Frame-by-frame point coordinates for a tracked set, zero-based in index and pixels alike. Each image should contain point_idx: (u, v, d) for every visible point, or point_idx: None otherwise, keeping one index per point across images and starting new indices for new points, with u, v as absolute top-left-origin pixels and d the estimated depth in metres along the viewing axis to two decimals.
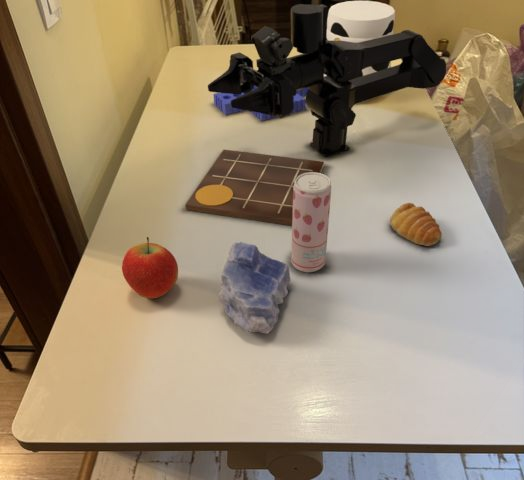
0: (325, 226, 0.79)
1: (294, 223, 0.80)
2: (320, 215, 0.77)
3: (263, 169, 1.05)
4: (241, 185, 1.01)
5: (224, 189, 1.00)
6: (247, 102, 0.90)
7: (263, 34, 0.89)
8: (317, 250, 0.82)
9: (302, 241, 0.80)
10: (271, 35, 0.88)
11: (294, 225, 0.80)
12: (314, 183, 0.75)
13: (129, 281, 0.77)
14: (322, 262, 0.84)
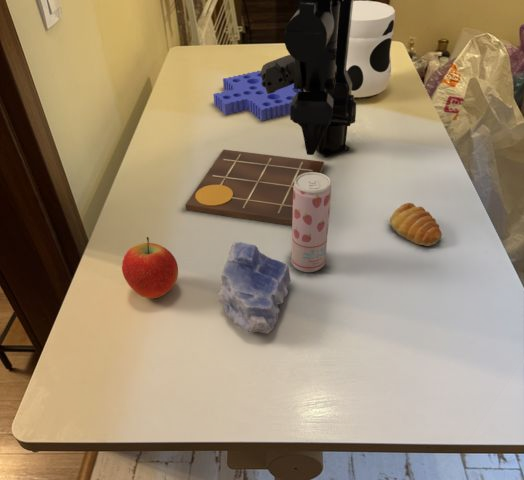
0: (325, 226, 0.79)
1: (294, 223, 0.80)
2: (320, 215, 0.77)
3: (263, 169, 1.05)
4: (241, 185, 1.01)
5: (224, 189, 1.00)
6: (311, 141, 0.82)
7: None
8: (317, 250, 0.82)
9: (302, 241, 0.80)
10: None
11: (294, 225, 0.80)
12: (314, 183, 0.75)
13: (129, 281, 0.77)
14: (322, 262, 0.84)
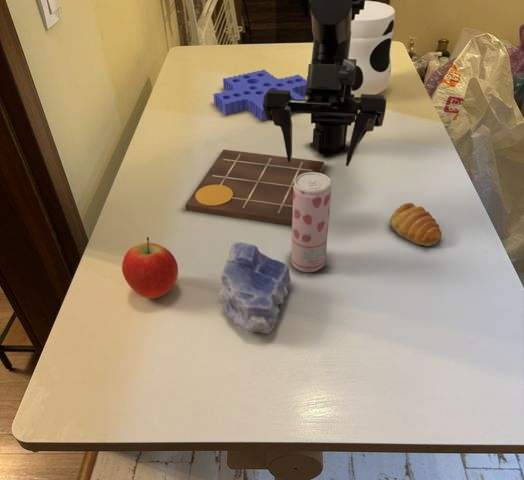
0: (325, 226, 0.79)
1: (294, 223, 0.80)
2: (320, 215, 0.77)
3: (263, 169, 1.05)
4: (241, 185, 1.01)
5: (224, 189, 1.00)
6: (355, 149, 0.81)
7: (327, 78, 0.73)
8: (317, 250, 0.82)
9: (302, 241, 0.80)
10: (339, 74, 0.73)
11: (294, 225, 0.80)
12: (314, 183, 0.75)
13: (129, 281, 0.77)
14: (322, 262, 0.84)
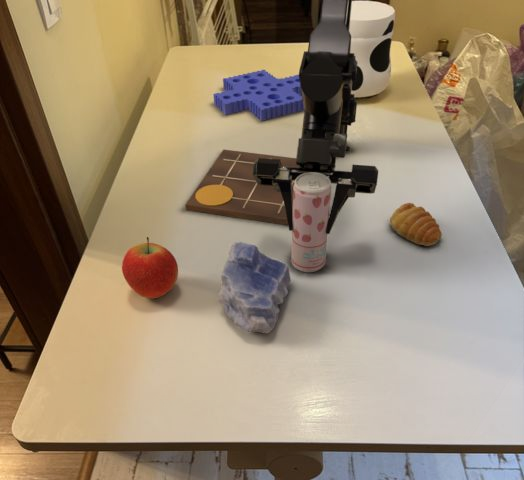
0: (325, 226, 0.79)
1: (294, 223, 0.80)
2: (320, 215, 0.77)
3: None
4: (241, 185, 1.01)
5: (224, 189, 1.00)
6: (336, 217, 0.80)
7: (317, 153, 0.72)
8: (317, 250, 0.82)
9: (302, 241, 0.80)
10: (329, 149, 0.72)
11: (294, 225, 0.80)
12: (314, 183, 0.75)
13: (129, 281, 0.77)
14: (322, 262, 0.84)
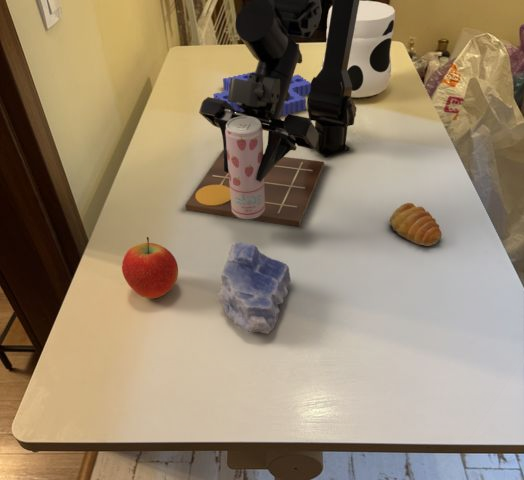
0: (256, 173, 0.81)
1: (228, 165, 0.82)
2: (247, 159, 0.78)
3: None
4: None
5: (224, 189, 1.00)
6: (269, 165, 0.81)
7: (243, 94, 0.73)
8: (249, 197, 0.83)
9: (233, 184, 0.82)
10: (255, 91, 0.73)
11: (228, 167, 0.82)
12: (244, 126, 0.77)
13: (129, 281, 0.77)
14: (256, 211, 0.86)
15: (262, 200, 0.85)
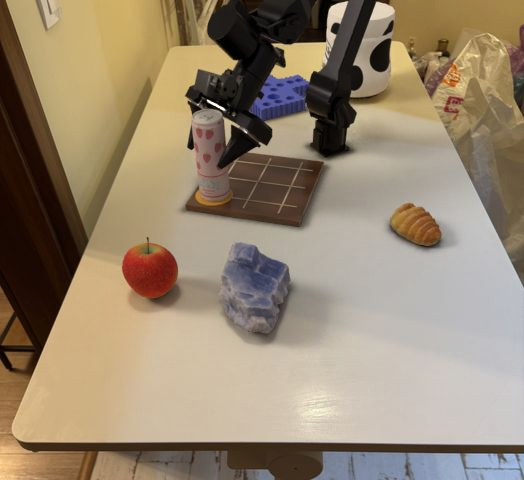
0: (213, 161, 0.91)
1: None
2: (204, 146, 0.89)
3: (263, 169, 1.05)
4: (241, 185, 1.01)
5: None
6: (230, 156, 0.89)
7: (203, 84, 0.83)
8: (207, 181, 0.94)
9: (197, 167, 0.94)
10: (210, 84, 0.82)
11: None
12: (206, 117, 0.87)
13: (129, 281, 0.77)
14: (215, 195, 0.96)
15: (222, 187, 0.95)
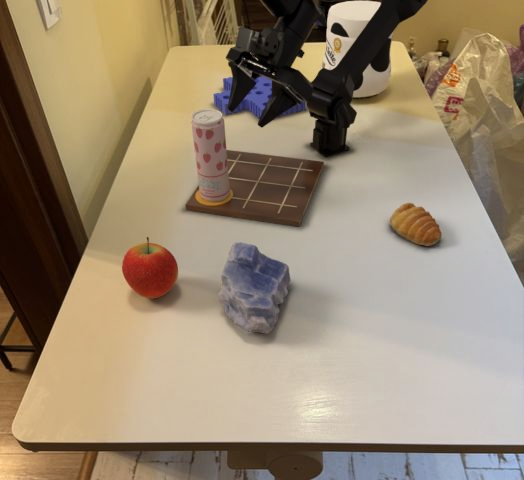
0: (213, 161, 0.91)
1: None
2: (204, 146, 0.89)
3: (263, 169, 1.05)
4: (241, 185, 1.01)
5: None
6: (271, 114, 0.89)
7: (244, 40, 0.84)
8: (207, 181, 0.94)
9: (197, 167, 0.94)
10: (252, 39, 0.83)
11: None
12: (206, 117, 0.87)
13: (129, 281, 0.77)
14: (215, 195, 0.96)
15: (222, 187, 0.95)
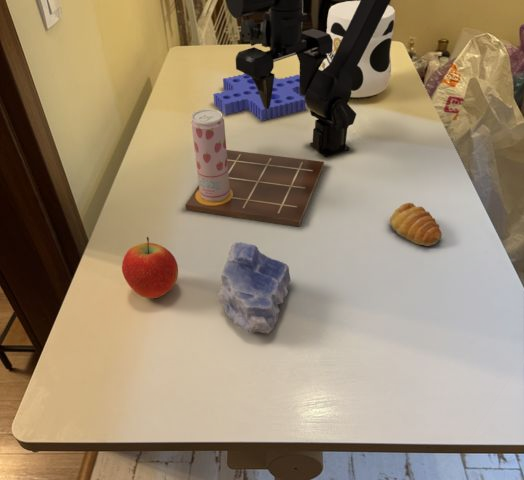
0: (213, 161, 0.91)
1: None
2: (204, 146, 0.89)
3: (263, 169, 1.05)
4: (241, 185, 1.01)
5: None
6: (262, 95, 0.94)
7: None
8: (207, 181, 0.94)
9: (197, 167, 0.94)
10: None
11: None
12: (206, 117, 0.87)
13: (129, 281, 0.77)
14: (215, 195, 0.96)
15: (222, 187, 0.95)
